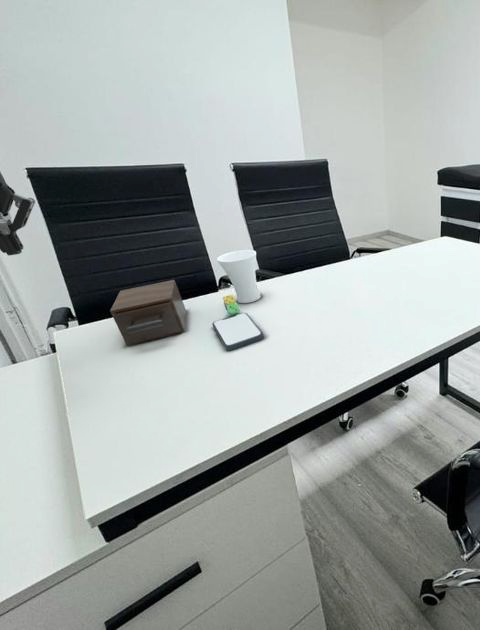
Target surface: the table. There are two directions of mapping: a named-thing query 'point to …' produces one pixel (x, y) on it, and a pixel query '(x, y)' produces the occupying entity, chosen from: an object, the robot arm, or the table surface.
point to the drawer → (147, 322)
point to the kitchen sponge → (231, 305)
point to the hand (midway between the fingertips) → (15, 253)
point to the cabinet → (151, 302)
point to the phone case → (237, 331)
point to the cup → (241, 273)
